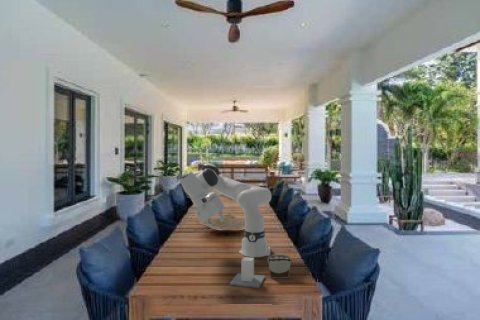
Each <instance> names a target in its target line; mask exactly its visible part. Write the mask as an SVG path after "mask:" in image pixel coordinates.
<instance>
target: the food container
mask: <svg viewBox="0 0 480 320" xmlns="http://www.w3.org/2000/svg"><path fill="white" fill-rule="evenodd" d="M267 263H268V270H269V278H270V279H278V278H279V279H280V278H281V279H283V278H285V279H286V278H287V279H289V278H290V271H291V263H293V260H292V257H291V256H289V255H286V254H272V255H271V254H270V255H269V256H267ZM277 277H278V278H277Z"/></svg>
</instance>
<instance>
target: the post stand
mask: <svg viewBox="0 0 480 320" xmlns="http://www.w3.org/2000/svg"><path fill="white" fill-rule="evenodd" d="M265 279H266V276H265V275H259V274H254V279H253V280H252V282H250V281H241V272H240V273H239V272H238V273H236V275H235V276H234V277H233V278H232V280H231V281H230V282H229V286H234V285H235V286H236V287H242V288H243V287H244V288H245V287H246V288H253V289H254V288H255V289H260V287H261V285H262V283H264V280H265ZM235 286H234V287H235Z"/></svg>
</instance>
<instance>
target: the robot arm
mask: <svg viewBox="0 0 480 320" xmlns="http://www.w3.org/2000/svg"><path fill="white" fill-rule="evenodd" d="M221 174H222V173H221V172H220V169H219V168H218V166H216V165H215V164H213V163H210V162H208V163H203V164H202V166H201V168H200V170H189V171H187V172H186V173H184V174H182V176H180V177H179V183H180V184H181V186H182V192H183V193H185V195H186V197H187V198H189V199H190V201H192V203H193V205H194V213H195V215H196V217H197V219H198V221H199V222H200V224H204V223H206V224H207V225H209V226H210V227H211V228H215V226H216V224H215V222H213V221H211V219H212V218H213V217H214V216H216V215H217V216H218V217H219V221H220V222H221V223H222V222H224V221H225V220H226V219H225V217H224V214H223V211H224V210H225V205H224V203H223V201H222V200H221V199H220V198H219V196H217V195H218V194H217V193H219V194H221V195H222V196H225V197H227V198H230V199H231V200H234V201H237V204H238V206H239V207H240V208H241V209H242V211H243V215H244V232H243V234H244V237H243V238H242V239H241V249H240V250H239V251H238V253H239V254H241V255H242V256H244V257H249V258H262V257H269V256H271V247H270V246H268V244H267V243H268V241H267V238H266V231H265V218H264V215H262V214H261V210H260V207H263V206H265V205H267V204H268V203H270V202H271V200H272V197H273V196H272V192H271V190H270V189H269V188H267V187H263V186H262V187H261V186H257V185H253V184H248V183H243V182H241V181H237V180H235V179H232V178H229V177H224V176H220V175H221ZM214 190H215V191H216V192H215V191H214Z"/></svg>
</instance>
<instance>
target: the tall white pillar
mask: <svg viewBox="0 0 480 320" xmlns="http://www.w3.org/2000/svg"><path fill="white" fill-rule="evenodd" d="M240 261H241V263H240V264H241V265H240V266H241V268H240V269H241V272H240V273H241V281H250V282H252V280H253V279H254V275H255V257H247V256H244V257H242V259H241V260H240Z"/></svg>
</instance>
